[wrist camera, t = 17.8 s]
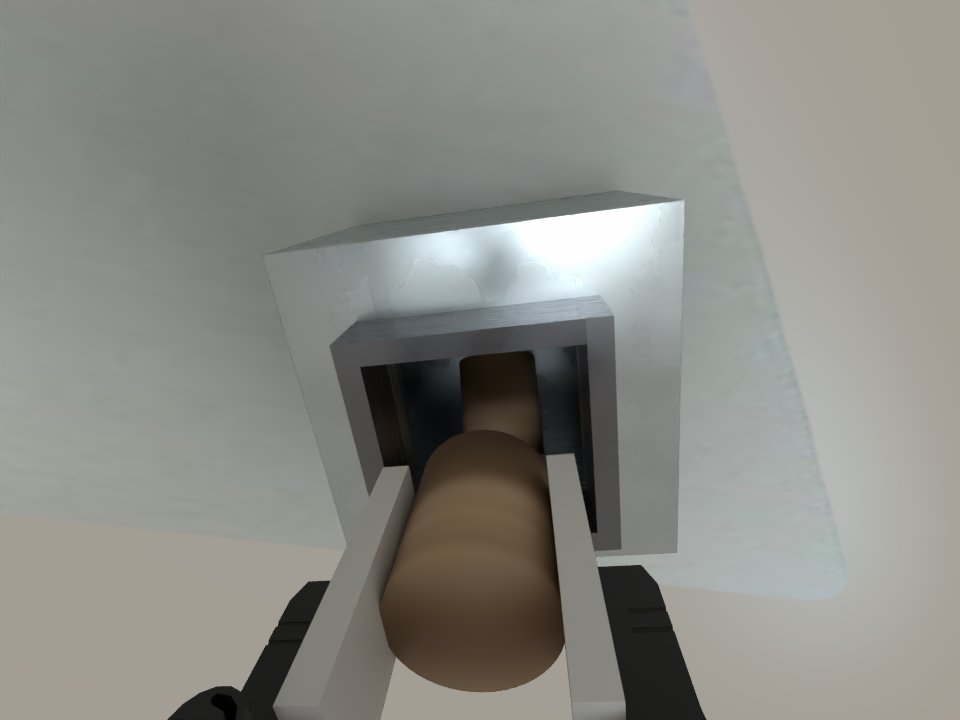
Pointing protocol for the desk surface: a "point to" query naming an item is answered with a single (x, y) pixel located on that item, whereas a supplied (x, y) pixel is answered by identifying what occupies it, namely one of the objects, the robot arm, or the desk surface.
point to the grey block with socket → (500, 345)
